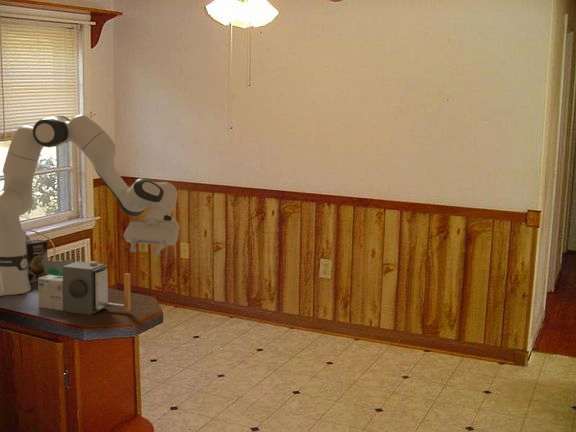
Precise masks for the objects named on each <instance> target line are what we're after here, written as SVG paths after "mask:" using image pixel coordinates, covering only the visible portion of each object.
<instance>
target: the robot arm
mask: <svg viewBox="0 0 576 432" xmlns="http://www.w3.org/2000/svg"><path fill="white" fill-rule="evenodd" d="M68 142H72V143H73V144H75V145H76V147H78V149H80V150H81V152H82V153H83V154H84V155H85V156H86V157H87V159H88V160H89V161H90V162H91V164H92V166H93V168H94V170H95V172H96V173H97V175H98V177H99V178H100V179H101V180H102V182H103V183H104V185H106V187H107V189H109V191H110V192H111V193H112V194H113V196H114V197H115V199H116V200H117V203H118V204H119V207H120V209H121V210H122V211H123V213H124V214H126V215H128V216H131V217H137V216H141V215H142V214H144V212H145V211H146V210H147V212H146V215H145V217H144V219H134V220H132V221H130V222H129V223H128V225H127V227H126V229H125V231H124V233H123V238H124V240H125V242H126V243H130V245H131V246H130V249H129V251H130V252H131V253H136V252H137V247H136V245H137V244H145V245H146V244H147V245H158V246H157V247H154V250H153V253H154V254H155V255H160V252H161V251H162V250H164V249H165V247H166V246H169V247H170V246H173V247H174V246H175V245H176V244H177V242H178V239H179V230H180V229H181V228H180V224H179V222H178V221H177V219H176V218H175V216H172V212H174V209H175V208H176V207H175V206H176V204H177V200H178V196H179V195H178V189H177V188H176V187H175V185H173V184H172V183H169V182H167V181H162V182H156V181H153V180H151V179H149V178H146V177H141V178H138V179H136V180H135V181H134V183H133V184H132V185H131V186H130V187H129V185H127V183H126V182H125V181H124V179H123V178H122V177H121V175H120V174H119V173H118V171H117V170H116V166H115V156H116V150H117V149H116V145H115V142H114V141H113V138H112V137H111V136H110V135H109V134H108V133H107V132H106V131H105V130H104V129H103V128H102V126H100V125H99V123H97V122H95V120H93V119H91V118H90V117H89V116H88V115H85V114H78V115H75V116H73V117H72V118H71V119H69V118H68V117H66V116H64V115H50V116H47V117H43V118H40V119H39V120H38V121H36V122H35V124H34V125H33V126H32V125H23V126H19V127H18V128H17V129H16V131H15V133H14V135H13V137H12V139H11V141H10V144H9V147H8V150H7V155H6V157H5V160H4V165H3V168H2V174H3V176H4V182H3V188H2V190H0V297H1V296H2V297H3V296H11V295H13V296H15V295H19V294H25V293H28V292H30V291H31V290H32V287H31V283H29V279H28V274H27V253H26V235H25V232H24V231H25V230H24V229H23V228H22V224H21V220H20V217H21V216H22V215H25V214H26V213H27V212H29V210H30V209H31V208H32V207H33V204H34V196H33V195H32V194H33V181H34V177H35V176H34V175H35V173H36V168H37V166H38V164H39V159H40V156H41V152H42V150H43V149H44V147H45V148H54V147H59V146H62V145H63V144H66V143H68Z"/></svg>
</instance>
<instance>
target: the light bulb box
mask: <svg viewBox="0 0 576 432" xmlns="http://www.w3.org/2000/svg"><path fill="white" fill-rule="evenodd" d="M37 284H38V285H37V286H38V287H37V288H38V289H37V291H38V307H39V308H43V309H50V310H56V311H63V276H55V275H47V276H44V277H40V278H38V282H37ZM63 312H64V311H63Z"/></svg>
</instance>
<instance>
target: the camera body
mask: <svg viewBox="0 0 576 432" xmlns="http://www.w3.org/2000/svg"><path fill="white" fill-rule="evenodd" d="M108 267H109V266H108V264H105V263H98V261H94V260H93V261H89V262H87V261H77V260H76V261H75V262H74V261H73V263H71V264H68V265H66V266H63V312H64V311H65V312H66V313H72V312H73V314H74V313H75V314H80V313H81V314H82V315H90V316H91V315H94V314H96V313H99V312H100V311H102V310H104V309H106V308H107V307H106V306H105V307H103V308H101V309H99V310H97V309H96V287H95V273H96V272H98V271H101V270H103V269H108Z"/></svg>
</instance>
